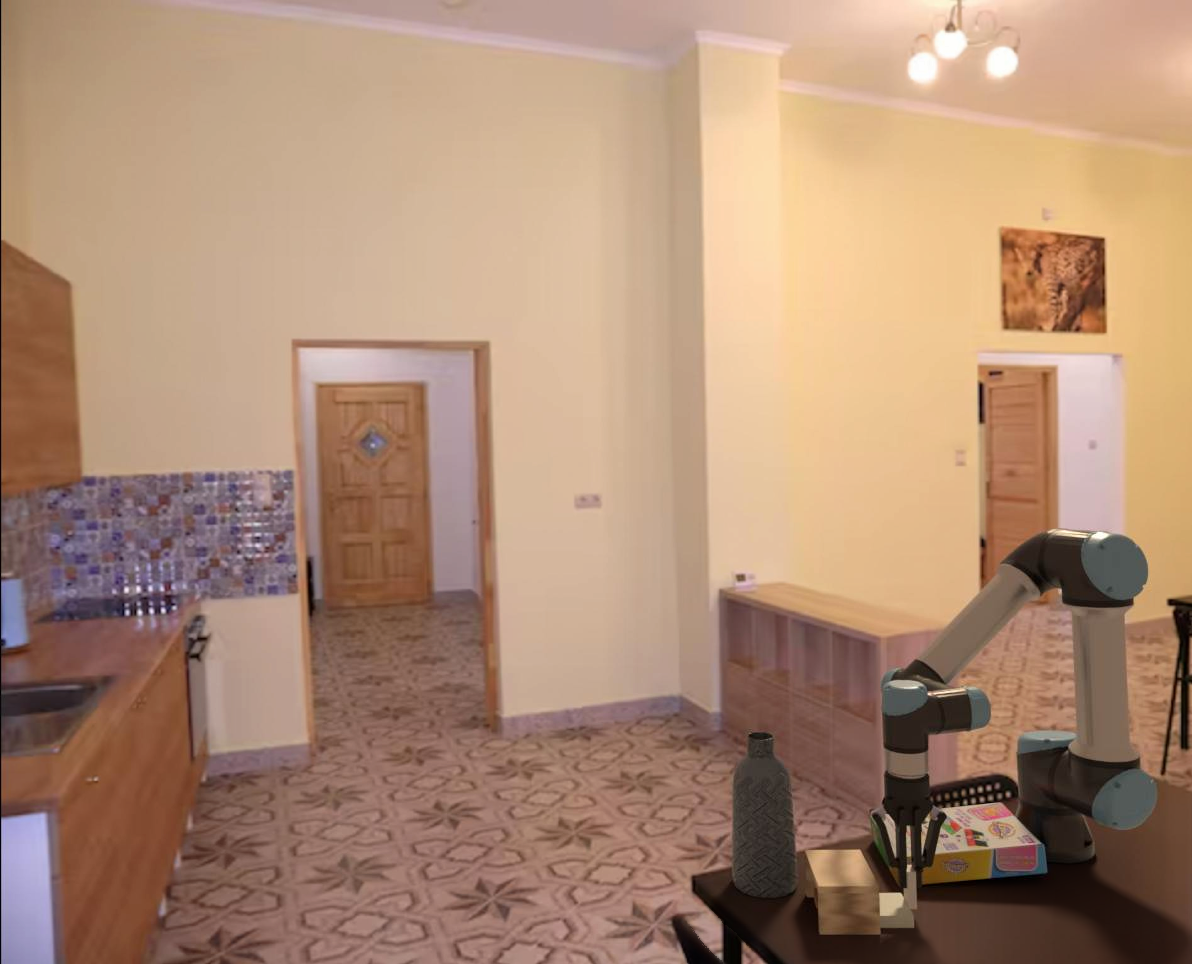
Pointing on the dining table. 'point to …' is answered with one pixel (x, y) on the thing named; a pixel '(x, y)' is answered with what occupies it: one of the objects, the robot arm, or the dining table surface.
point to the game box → (974, 845)
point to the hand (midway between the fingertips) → (910, 905)
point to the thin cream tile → (895, 911)
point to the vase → (763, 822)
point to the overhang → (843, 892)
